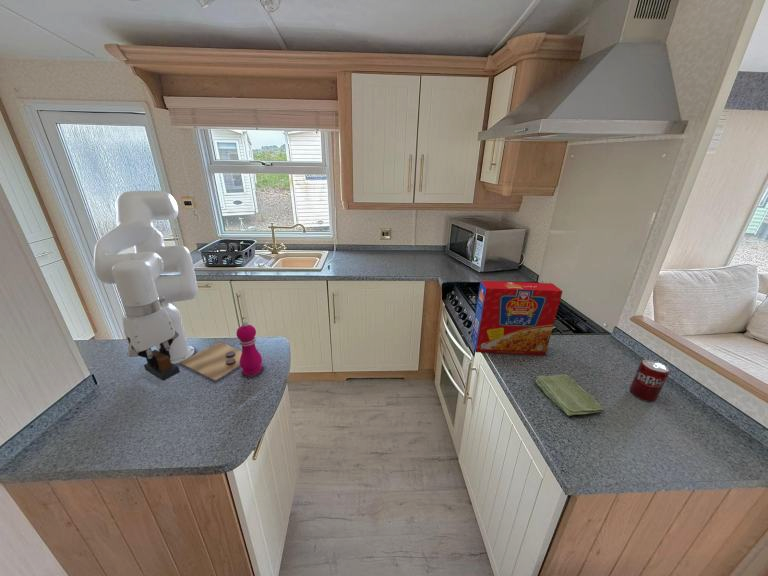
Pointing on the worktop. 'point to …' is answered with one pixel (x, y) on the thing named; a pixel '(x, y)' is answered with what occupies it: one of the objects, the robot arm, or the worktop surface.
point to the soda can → (649, 380)
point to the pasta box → (515, 317)
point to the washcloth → (568, 395)
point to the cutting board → (213, 361)
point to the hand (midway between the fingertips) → (160, 363)
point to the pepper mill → (249, 350)
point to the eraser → (162, 366)
